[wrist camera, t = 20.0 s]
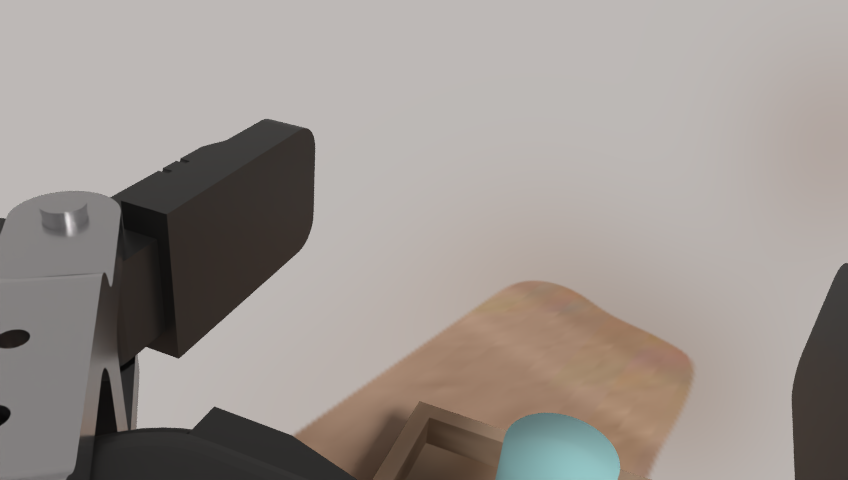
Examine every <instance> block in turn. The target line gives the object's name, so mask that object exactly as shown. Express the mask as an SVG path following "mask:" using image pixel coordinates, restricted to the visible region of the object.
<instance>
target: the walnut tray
mask: <svg viewBox="0 0 848 480" xmlns="http://www.w3.org/2000/svg"><path fill="white" fill-rule="evenodd" d="M506 432H507V431H506V430H503V429H500V428H497V427H494V426H491V425H488V424H485V423H482V422H479V421H476V420H473V419H470V418H467V417H464V416H461V415H459V414H456V413H453V412H450V411H447V410H444V409H441V408H438V407H435V406H432V405H429V404H426V403H423V402H420V401H419V403H418V405H417V406H416V408H415V410H414V411H413V413H412V415H411V416H410V418H409V420H408V421H407V423H406V425H405V426H404V428H403V430H402V431H401V433H400V435H399V436H398V438H397V440H396V441H395V443H394V445H393V446H392V448H391V450H390V451H389V453H388V455H387V456H386V458H385V460H384V461H383V463H382V465H381V466H380V468H379V470H378V471H377V473H376V475H375V476H374V478H373V480H495V479H496V474H497V469H498V464H499V460H500V455H501V450H502V445H503V441H504V437H505V434H506ZM618 480H650V479H647V478H644V477H641V476H638V475H635V474H632V473H629V472H627V471H624V470H621V469H620V472H619V476H618Z"/></svg>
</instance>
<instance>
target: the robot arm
mask: <svg viewBox="0 0 848 480" xmlns="http://www.w3.org/2000/svg"><path fill="white" fill-rule="evenodd" d="M314 166H315V142H314V136H313V134H312V132H311V131H310V130H309V129H307V128H302V127H299V126H295V125H290V124H287V123H283V122H278V121H274V120H270V119H264V120H262V121H260V122H258V123H256V124H254V125H253V126H251V127H249V128H247V129H246V130H244V131H242V132H240V133H239V134H237V135H235V136H233V137H232V138H230V139H228V140H226V141H223V142H219V143H214V144H211V145H207V146H203V147H201V148H199V149H197V150H195V151H194V152H192V153H190V154H188V155H186V156H184V157H183V158H181V160H180V162H178V161H175V162H174V163H172V164H170V165H168V166H166V167H165V168H163V171H162V172H161V171H157V172H156V173H154V174H152V175H150V176H148V177H147V178H145V179H143V180H141V181H139V182H137V183H136V184H134V185H132V186H130V187H128V188H127V189H125V190H123V191H121V192H119V193H118V194H116V195H114V196H112V197H107V196H105V195H102V194H98V193H92V192H84V191H66V192H56V193H50V194H45V195H41V196H38V197H35V198H32V199H30V200H27V201H25V202H23V203H21V204H19V205H18V206H16V207H15V208H13V209H12V210H11V211H10V213H9V214H8V216H7V218H6V219H4V218H0V480H357V479H355V478H354V477H352V476H351V475H349V474H348V473H347V472H345V471H344V470H342V469H341V468H339V467H338V466H336V465H335V464H333V463H332V462H330V461H329V460H327V459H326V458H324V457H323V456H321V455H320V454H318V453H317V452H315V451H314V450H312V449H311V448H309V447H308V446H307V445H305V444H304V443H302V442H301V441H299V440H298V439H296V438H295V437H293V436H292V435H289V434H286V433H283V432H281V431H278V430H276V429H273V428H270V427H268V426H265V425H262V424H259V423H257V422H254V421H252V420H249V419H246V418H243V417H241V416H238V415H235V414H233V413H230V412H227V411H225V410H222V409H219V408H216V407H214V408H213V409H212V410H211V411H210V412H209V413H208V414H207V415H206V416H205V417H204V418H203V419H202V420H201V421H200V422H199V423H198V424H197V425H196V426H195V427H194V428H193V429H192V430H191V429H183V428H142V429H136V424H137V406H138V387H139V364H138V355H137V354H138V353H139V352H140V351H141V350H143V349H144V348H145V347H148V348H151V349H154V350H157V351H159V352H162V353H165V354H168V355H170V356H173V357H176V358H180V357H181V356H182V355H183V354H185V353H186V352H187V351H188V350H189V349H190V348H191V347H192V346H193V345H194V344H196V343H197V342H198V341H199V340H200V339H201V338H202V337H204V336H205V335H206V334H207V333H208V332H209V331H210V330H211V329H212V328H214V327H215V326H216V325H217V324H218V323H219V322H220V321H222V320H223V319H224V318H225V317H226V316H227V315H228V314H229V313H231V312H232V311H233V310H234V309H235V308H236V307H237V306H238V305H239V304H240V303H242V302H243V301H244V300H245V299H246V298H247V297H248V296H250V295H251V294H252V293H253V292H254V291H255V290H256V289H257V288H258V287H259V286H261V285H262V284H263V283H264V282H265V281H266V280H268V279H269V278H270V277H271V276H272V275H273V274H274V273H275V272H277V270H279V269H280V268H281V267H282V266H283V265H284V264H286V263H287V262H288V261H289V260H290V259H291V258H292V257H293V256H294V255H296V254H297V253H298V252H299V251H300V250H301V249H302V247H303V246H304V244H305V242H306V240H307V239H308V236H309V234H310V230H311V227H312V223H313V212H314V170H315V167H314ZM792 417H793V440H794V467H795V480H848V263H845V264H843V265H842V266H841V267H840V269H839V270H838V272H837V274H836V276H835V278H834V280H833V282H832V285H831V287H830V289H829V292H828V294H827V296H826V299H825V301H824V303H823V306H822V308H821V310H820V313H819V315H818V318H817V320H816V322H815V325H814V327H813V329H812V332H811V334H810V336H809V339H808V341H807V343H806V346H805V348H804V350H803V353H802V356H801V358H800V361H799V364H798V367H797V370H796V374H795V379H794V384H793V390H792Z"/></svg>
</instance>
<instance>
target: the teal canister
mask: <svg viewBox="0 0 848 480" xmlns="http://www.w3.org/2000/svg"><path fill="white" fill-rule="evenodd" d="M619 472H620V462H619V457H618V455H617V452H616V450H615V449H614V447H613V445H612V444H611V443H610V441H609V440H608V439H607V438H606V437H605V436H604V435H603V434H602V433H601V432H599V431H598V430H597V429H595V428H594V427H592V426H591V425H589V424H587V423H585V422H583V421H581V420H579V419H576V418H573V417H570V416H567V415H562V414H556V413H538V414H532V415H528V416H525V417H523V418H521V419H519V420H517V421H516V422H514V423H513V424H512V425H511V426H510V427H509V429H508V430H507V432H506V434H505V437H504V441H503V445H502V450H501V455H500V460H499V464H498V469H497V474H496V479H495V480H618V476H619Z"/></svg>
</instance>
